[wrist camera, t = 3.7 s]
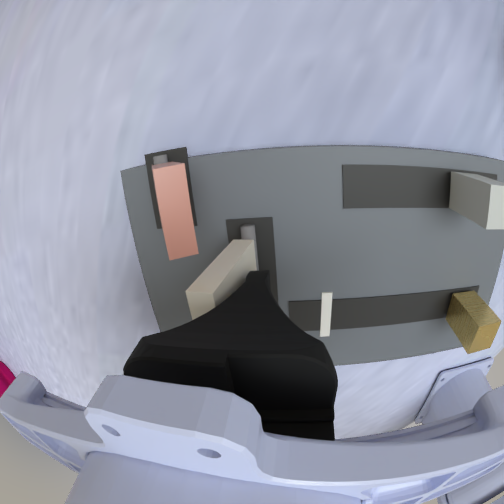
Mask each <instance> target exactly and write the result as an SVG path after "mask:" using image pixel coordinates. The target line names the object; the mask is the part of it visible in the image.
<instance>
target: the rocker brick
mask: <svg viewBox="0 0 504 504" xmlns="http://www.w3.org/2000/svg"><path fill="white" fill-rule="evenodd" d="M153 159H154V165H151V166H152V173H153V179H154V185H155V192H156V197H157V203H158V209H159V214H160V220H161V225H162V229H163V234H164V239H165V243H166V247H167V252H168V256H169V260H174V259H178V258H182V257H187V256H191V255H195V254H199V253H198V247H197V241H196V236H195V230H194V224H193V217H192V211H191V205H190V198H189V191H188V185H187V177H186V170H185V163H179V162H168V159H167V154H165V155H160V156H155V157H153Z"/></svg>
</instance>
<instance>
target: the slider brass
mask: <svg viewBox="0 0 504 504" xmlns="http://www.w3.org/2000/svg"><path fill="white" fill-rule="evenodd" d="M446 321H447V322H448V324H449V325H450V327H451V328H452V330H453V331H454V333H455V335H456V336H457V338H458V339H459V341H460V342H461V344H462V346H463V347H464V349H465V350H466V352H467V354H470V353H473V352H477V351H480V350H484V349H487V348H490V347H491V344H492V342H493V340H494V338H495V336H496V333H497V331H498V328H499V326H500V324H501V320H500V319H499V318H498V317H497V315H496V314H495V313H494V312H493V311H492V310H491V308H490V307H489V306H488V305H487V304H486V303H485V302H484V300H483V299H482V298H481V297H480V296H479V295H478V294H477V293H476V292H475V291H468V292H461V293H454V294H453V295H452V298H451V302H450V306H449V309H448V312H447V316H446Z"/></svg>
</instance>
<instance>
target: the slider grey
mask: <svg viewBox="0 0 504 504" xmlns="http://www.w3.org/2000/svg"><path fill="white" fill-rule="evenodd" d="M449 208H450V209H452V210H454V211H456V212H457V213H459V214H461V215H463V216H465V217H466V218H468V219H470V220H471V221H473V222H475V223H476V224H478V225H480V226H481V227H483V228H485V229H504V183H502V182H499V181H496V180H493V179H490V178H487V177H484V176H481V175H478V174H471V173H462V172H451V186H450V202H449Z"/></svg>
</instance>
